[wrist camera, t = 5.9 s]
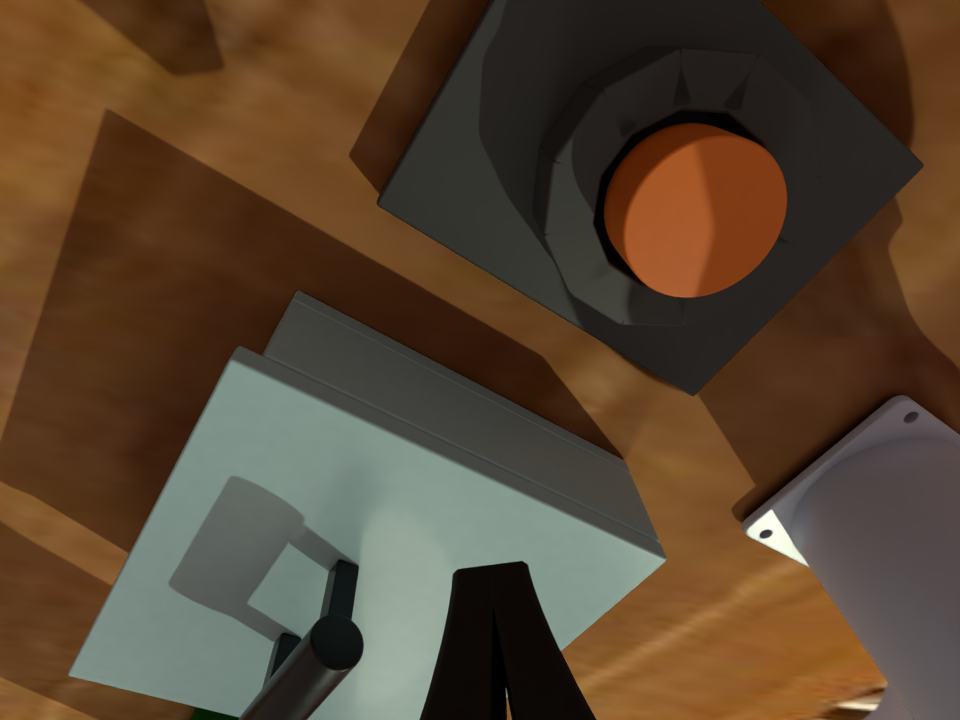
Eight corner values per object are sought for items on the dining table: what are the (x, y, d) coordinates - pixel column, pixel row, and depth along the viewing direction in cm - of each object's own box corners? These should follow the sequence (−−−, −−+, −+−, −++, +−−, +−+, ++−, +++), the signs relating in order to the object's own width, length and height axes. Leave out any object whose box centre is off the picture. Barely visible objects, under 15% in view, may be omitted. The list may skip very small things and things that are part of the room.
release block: (900, 157, 16) (988, 183, 14) (682, 381, 20) (718, 435, 17) (578, -157, 12) (616, -205, 10) (378, 195, 16) (366, 228, 13)
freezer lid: (77, 656, 19) (-1, 793, 16) (238, 343, 13) (170, 452, 10) (429, 746, 24) (428, 867, 20) (661, 542, 18) (712, 663, 15)
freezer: (146, 565, 23) (96, 659, 19) (297, 288, 17) (263, 353, 14) (430, 656, 27) (429, 745, 24) (626, 460, 21) (660, 541, 18)
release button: (780, 179, 14) (823, 198, 12) (677, 294, 15) (704, 324, 14) (674, 88, 12) (707, 97, 11) (573, 223, 14) (589, 248, 12)
